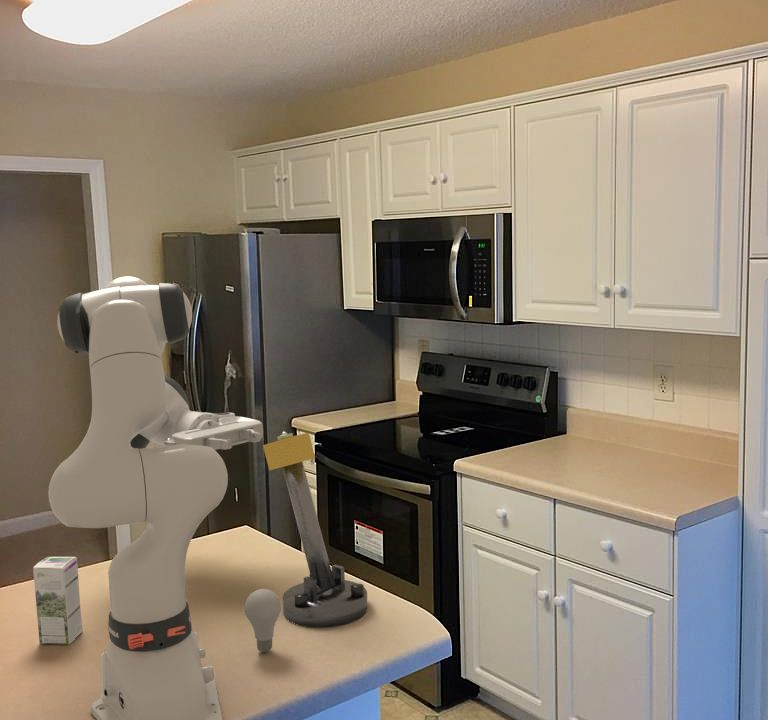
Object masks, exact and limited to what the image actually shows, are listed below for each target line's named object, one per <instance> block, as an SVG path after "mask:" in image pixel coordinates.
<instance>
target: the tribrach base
mask: <svg viewBox="0 0 768 720" xmlns="http://www.w3.org/2000/svg"><path fill="white" fill-rule="evenodd" d="M331 571H332V575H333V579H334V578H336V579H337V580H338V582H339V584H338V586H337V587H334V588H332V589H330V590H328V591H326V592H323V593H321V594H319V595H317V579H315V578H311V575H310V574H309V576H305V577H303V582H300V583H298V584H295V585H293V586H291V587H290V588H288V589H287V590H286V591H285V592H284V593H283V595H282V611H283V613H282V614H283V617H284V616H285V617H284V618H285V620H287V621H288V620H289V621H288V622H290V623H291V622H293V623H292V624H294V623H295V624H294V625H296V624H298V625H297V626H300V625H301V626H300V627H304V626H305V627H306V628H313V629H314V628H315V629H318V628H319V629H325V628H327V629H328V628H335V627H341V626H345V625H348V624H351V623H355V622H357V621H358V620H360V619H361V618H363V617H365V615H366V614H367V612H368V591H367V589H366V588H365V586H364V584H363V583H358V582H355V581H351V580H346V579H345V578H346V577H345V566H342V565H339V564H334V565H331Z"/></svg>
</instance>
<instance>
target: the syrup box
mask: <svg viewBox="0 0 768 720" xmlns="http://www.w3.org/2000/svg"><path fill="white" fill-rule="evenodd" d="M32 570H33V581H34V583H33V584H34V593H35V595H34V596H35V603H36V604H35V607H36V618H37V628H38V639H39V640H38V641H39V644H40V645H64V646H66V645H68V646H69V645H70V644H72V643H73V642H74V641H75V640H76V639H77V638H78V637H79V636H80V635H81V634H82V633H83V620H82V609H81V598H80V595H81V594H80V583H79V582H80V581H79V580H80V579H79V569H78V558H77V556H46V557H44V558H43V559H41V560H40V561H38V562H37V563H36V564H35V565H34V566H33V567H32ZM80 633H81V634H80ZM79 634H80V635H79ZM78 635H79V636H78ZM77 636H78V637H77ZM76 637H77V638H76ZM75 638H76V639H75Z"/></svg>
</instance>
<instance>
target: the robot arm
mask: <svg viewBox="0 0 768 720" xmlns="http://www.w3.org/2000/svg"><path fill="white" fill-rule="evenodd" d="M192 321H193V308H192V304H191V302H190V300H189V298H188V296H187V294H186V293H185V292H184V290H183V288H182V287H180V286H178V284H175V283H167V282H166V283H165V282H159V283H158V284H148V283H147V282H146V281H144V280H142V279H141V278H138V277H136V276H135V277H134V276H130V275H129V276H128V275H127V276H120V277H117V278H115V279H113V280H111V281H110V282H108V283H107V284H106V285H105V287H104V288H102V289H97V290H94V291H90V292H89V291H88V292H86V293H83V291H82V292H78V293H75V294H72V295H68V296H67V297H65V298H64V299H63V301H62V302H61V303H60V304H59V308H58V314H57V322H56V323H57V324H56V325H57V329H58V333H59V335H60V338H61V340H62V341H63V343H64V345H65V347H66V348H67V349H68V350H70V351H71V352H73V353H75V354H77V355H88V363H89V373H90V382H91V383H90V384H91V385H90V386H91V418H90V422H89V426H88V429H87V431H86V433H85V436H84V438H83V439H82V440H81V443H79V445H78V447H76V449H74V451H73V452H72V453H71V454H70V455H69V456H68V457H67V458H66V459H64V460H63V461H62V462H61V463H60V464H59V465H58V467H56V469H55V470H54V472H53V473H52V476H51V478H50V481H49V485H48V491H47V493H48V501H49V506H50V508H51V510H52V512H53V514H54V516H55V517H56V518H57V519H58V520H59V522H61V523H62V524H63V525H64V526H66V527H67V528H81V529H82V528H83V529H84V528H85V529H102V528H103V529H104V528H110V527H118V526H125V525H132V524H139V523H144V524H145V523H147V525H146V528H145V530H144V531H143V533H142V534H141V535H140V536H139V537H138V538H137V539H136V540H134V541H132V542H131V543H129V544H127V545H126V546H124V547H123V548H122V549H120V550H119V551H118V552H117V553H116V554H115V556H114V557H113V558H112V560H111V562H110V564H109V568H108V573H107V574H108V588H109V600H110V602H109V603H110V612H109V613H108V621H107V628H108V633H109V639H110V642H109V644H108V645H107V647H106V648H105V650H104V651H103V652H102V653H101V654H100V680H101V681H100V685H101V687H100V688H101V689H100V690H101V697H99V698H97V699H96V700H95V701H93V702H92V703H91V705H90V714H91V715H92V716H93V717H94V719H96V720H223V715H222V710H221V705H220V699H219V695H218V694H219V693H218V691H217V690H218V689H217V685H216V680H215V673H214V666H213V664H208V665H207V664H206V665H202V662H201V659H202V658H205V657H206V655H207V654H206V648H205V647H202V648H201V647H200V648H199V635H198V632H196V631H194V630H193V627H192V615H191V610H190V608H189V607H190V606H189V603H188V601H187V600H186V599H187V598H186V562H187V561H186V560H187V553H188V550H189V547H190V543H191V541H192V539H193V536H194V534H195V533H196V531H197V529H198V528H199V526H200V524H201V523H202V522H203V521H204V519H205V518H206V517H207V516H208V515H209V514H210V513H211V512H212V511H213V510H214V509H216V508H217V507H218V506H219V505H220V503H221V501H222V500H223V499H224V497H225V494H226V491H227V488H228V482H229V481H228V480H229V474H228V469H227V467H226V464H225V461H224V459H223V458H222V457H221V455H220V454H219V453H218V452H217V450H230V449H232V448H233V446H237V445H241V444H244V443H250V442H251V443H258V442H261V439H263V438H264V428H263V427H264V426H263V423H262V421H260V420H259V419H253V418H249V417H246V416H245V417H244V416H238V415H237V416H236V415H235V413H234V412H219V413H218V412H217V413H212V412H206V411H205V412H201V411H193V410H191V409H190V402H189V399H188V395H187V394H186V392H185V390H184V388H183V387H182V386H181V384H180V383H178V382H177V381H176V380H175V379H173V378H171V377H169V376H167V375H165V371H164V370H165V369H164V364H163V356H162V355H163V353H164V350H165V348H166V344H167V343H168V344H169V345H171V344H175V343H177V342H180V341H182V340H184V339H186V337H187V336H188V335H189V334H190V333H191V331H190V328H191V327H192V326H191V325H192ZM150 442H152V443H154V444H156V445H158V446H154V447H153V446H152V447H148V445H149V444H150Z"/></svg>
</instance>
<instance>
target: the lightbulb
mask: <svg viewBox="0 0 768 720" xmlns="http://www.w3.org/2000/svg"><path fill="white" fill-rule="evenodd" d="M281 611H282V603H281V600H280V598H279V596H278V595H277V594H276V593H275V592H274V590H273V591H272V590H271V589H268V588H260V589H256V590H254V591H253V592H251V593H250V594H249V595H248V597H247V598H246V600H245V603H244V613H245V616H246V618H247V620H248V622H249V623H250V624H251V626H252V629H253V633H254V638H255V639H256V648H257V650H258V651H259V652H261V653H263V654H265V653H268V652H269V651H271V650H272V649H273V637H274V633H275V632H274V631H275V626H276V623H277V621H278V618H279V617H280V614H281Z"/></svg>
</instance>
